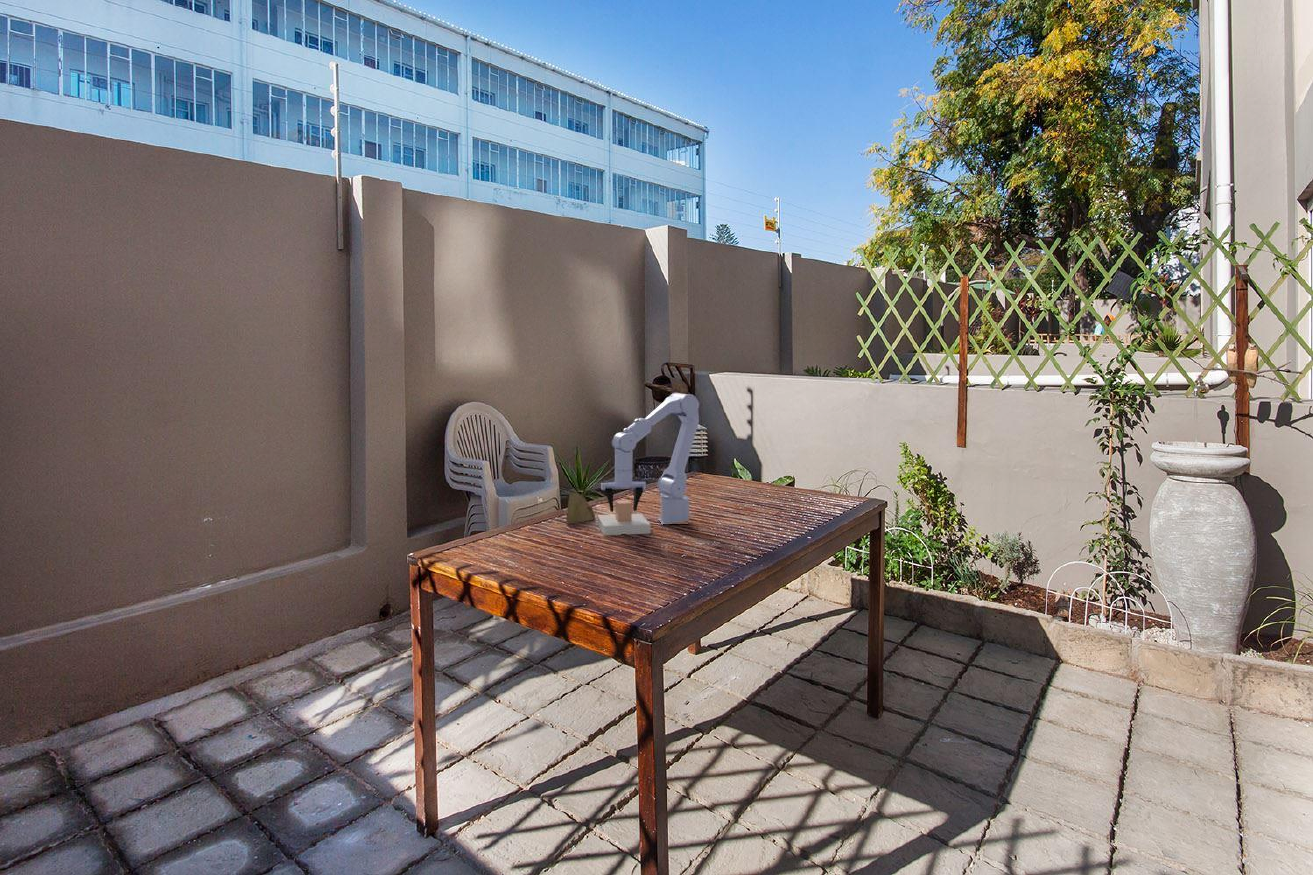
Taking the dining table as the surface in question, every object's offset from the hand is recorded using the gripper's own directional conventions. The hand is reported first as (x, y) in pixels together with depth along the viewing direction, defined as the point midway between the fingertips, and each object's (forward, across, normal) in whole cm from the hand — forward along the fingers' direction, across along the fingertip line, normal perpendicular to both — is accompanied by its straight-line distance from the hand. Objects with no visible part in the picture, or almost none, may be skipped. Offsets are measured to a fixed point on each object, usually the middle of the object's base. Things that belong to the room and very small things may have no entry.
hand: (623, 510), depth 239 cm
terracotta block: (+3, 0, 0) cm, 3 cm away
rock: (+6, -12, +12) cm, 19 cm away
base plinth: (+6, 0, 0) cm, 6 cm away
